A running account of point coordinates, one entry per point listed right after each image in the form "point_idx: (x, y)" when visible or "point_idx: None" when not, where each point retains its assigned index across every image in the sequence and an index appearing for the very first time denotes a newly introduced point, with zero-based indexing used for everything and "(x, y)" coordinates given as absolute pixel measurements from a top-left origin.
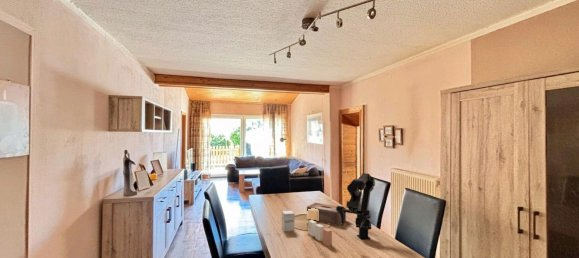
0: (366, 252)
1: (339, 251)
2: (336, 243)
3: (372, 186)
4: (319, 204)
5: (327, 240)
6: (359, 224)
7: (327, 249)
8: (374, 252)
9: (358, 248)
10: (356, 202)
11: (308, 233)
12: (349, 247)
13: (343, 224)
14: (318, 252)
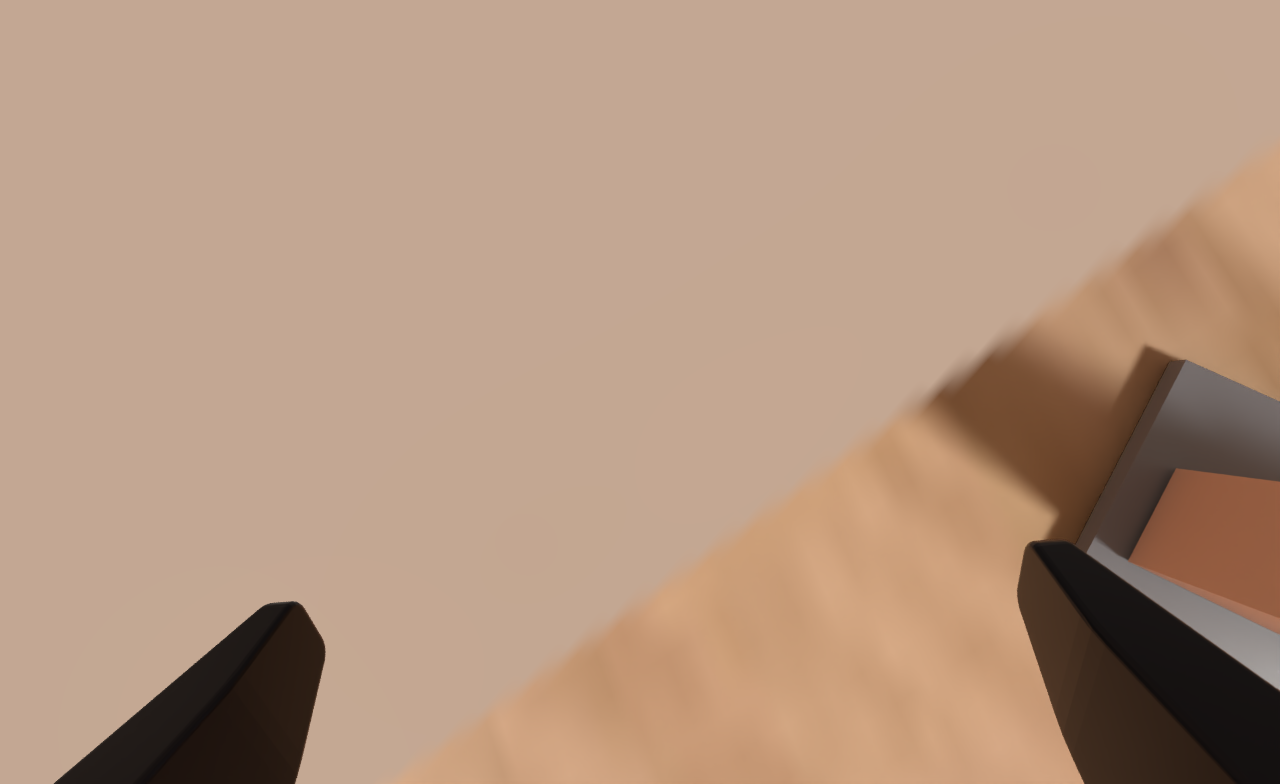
0: (508, 698)
1: (901, 464)
2: None
3: None
4: None
5: (1264, 482)
6: (182, 720)
7: (1126, 410)
8: (404, 773)
9: (675, 778)
10: None
11: None
12: (824, 727)
13: (1040, 644)
14: (1201, 198)
